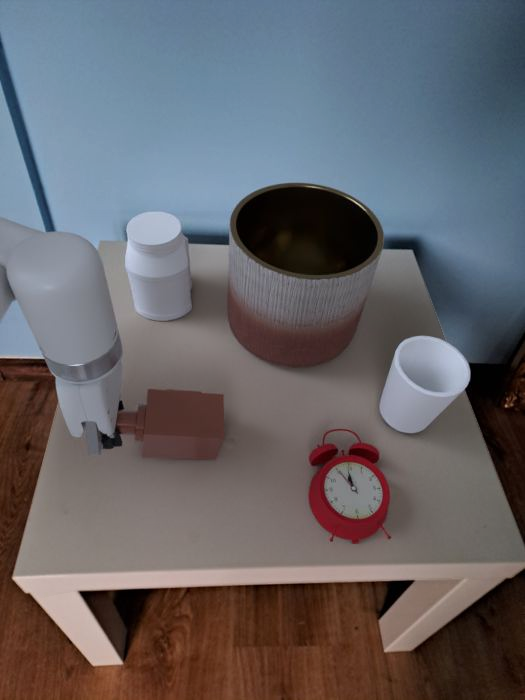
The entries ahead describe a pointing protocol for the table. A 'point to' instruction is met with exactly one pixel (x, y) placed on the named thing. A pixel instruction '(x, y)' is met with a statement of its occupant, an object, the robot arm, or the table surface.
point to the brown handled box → (176, 424)
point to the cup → (422, 383)
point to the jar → (158, 266)
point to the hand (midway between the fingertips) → (111, 430)
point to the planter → (300, 271)
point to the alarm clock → (349, 491)
